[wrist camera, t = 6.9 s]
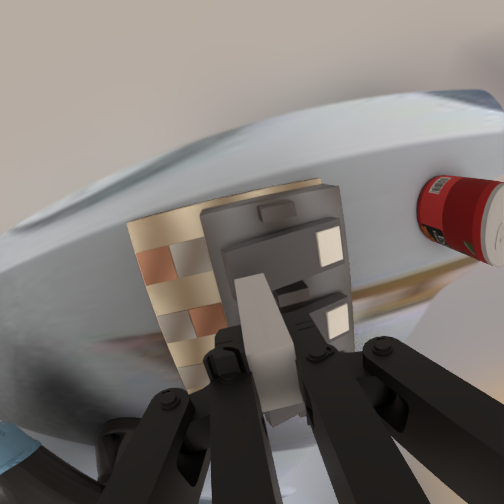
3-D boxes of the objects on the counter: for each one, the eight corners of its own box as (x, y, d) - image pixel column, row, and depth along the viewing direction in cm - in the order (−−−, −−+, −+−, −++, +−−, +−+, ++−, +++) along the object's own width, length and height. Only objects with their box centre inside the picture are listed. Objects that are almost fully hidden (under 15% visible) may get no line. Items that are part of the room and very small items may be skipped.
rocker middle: (251, 367, 23) (257, 376, 21) (241, 331, 22) (247, 339, 20) (342, 327, 25) (351, 333, 24) (339, 291, 24) (349, 296, 23)
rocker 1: (232, 297, 21) (238, 304, 20) (220, 249, 20) (225, 253, 19) (336, 260, 24) (346, 264, 22) (330, 216, 23) (341, 218, 21)
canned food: (409, 237, 30) (477, 265, 19) (420, 167, 28) (493, 173, 18) (451, 244, 31) (515, 270, 21) (462, 182, 29) (529, 193, 19)
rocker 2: (266, 419, 24) (273, 428, 23) (259, 394, 23) (266, 403, 22) (343, 377, 27) (351, 383, 26) (341, 350, 26) (351, 356, 25)
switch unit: (194, 399, 32) (192, 443, 25) (130, 221, 26) (103, 237, 19) (338, 364, 33) (362, 401, 26) (316, 178, 27) (348, 181, 20)
